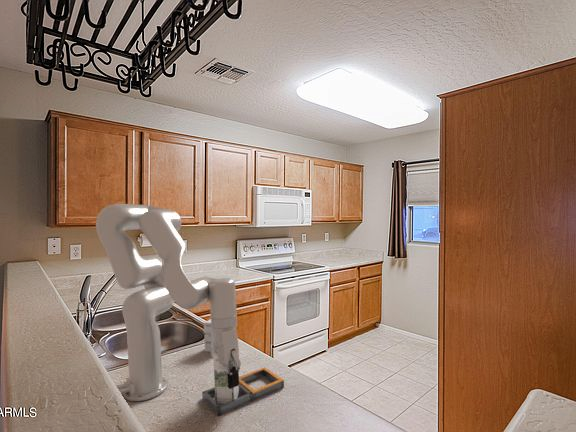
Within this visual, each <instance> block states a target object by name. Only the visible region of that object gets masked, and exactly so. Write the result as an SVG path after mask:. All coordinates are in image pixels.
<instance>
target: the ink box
mask: <svg viewBox="0 0 576 432" xmlns="http://www.w3.org/2000/svg"><path fill="white" fill-rule="evenodd" d="M203 337H204V352H209V353H211V318H209V319H208V320H206V321H204V322H203Z"/></svg>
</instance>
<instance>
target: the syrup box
mask: <svg viewBox="0 0 576 432" xmlns="http://www.w3.org/2000/svg"><path fill="white" fill-rule="evenodd" d="M212 359H213V375H214V376H213V377H214V378H213V379H214V380H213V381H214V387H215V396H214V398H215V399H214V400H215V402H216V403H217V404H218V405H222V404H225V403H227V402H229V401H232V400H234V399H237V398H239V394H240V392H239V385H238V386H236V387H234V388H231V389H229V388H228V376H227V374H229V372H228V369H227V365H226V366H222V365H221V364H220V363H219V356H218V354H216V353H214V355H213V358H212ZM232 361H233V359H232V357H231V358H230V361H229V362H232ZM230 367H231V369H232V367H234V364H231V365H230Z"/></svg>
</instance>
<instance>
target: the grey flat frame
mask: <svg viewBox="0 0 576 432" xmlns="http://www.w3.org/2000/svg"><path fill="white" fill-rule="evenodd" d="M263 377H265V378H266V379H268V381H270V383H268V384H265V385H263V386H261V387H257V388H256V389H253V387H251V386H250V385H248V383H251V382H253V381H256V380H258V379H261V378H263ZM284 380H285V379H283V378H282V377H280V376H278V374H276V373H274V372H273V371H271V370H270V369H268V368H267V367H262V368H260V369H256V370H254V371H252V372H249V373H246V374H244V375H239V394H240V395H242V396H240V397H239V396H238V398H237V399H234V400H232V401H229V402H227V403H225V404H217V403H216V401H215V399H214V398H213V397H215V386H214V387H211V388H208V389H206V390H204V391H202V392H201V395H202V400H203V401H204V402H205V403H206V404H207V406H208V407H209V408H210V409H211V410H212V412H214V414H215V415H216V416H217V417H219V416H222V415H224V414H226V413H228V411H229V412H231V411H233V410H236V409H238V408H240V407H242V406H244V404H245V405H247V404H249V403H251V402H254V401H256V400H258V399H260V398H263V397H265V396H267V395H269V394H272V393H273V392H274V393H275V392H276V391H278V390H279V391H280V390H281V389H284V388H285V381H284ZM262 396H263V397H262ZM257 398H258V399H257ZM255 399H256V400H255ZM253 400H254V401H253ZM250 401H251V402H250ZM248 402H249V403H248ZM246 403H247V404H246ZM237 407H238V408H237ZM232 409H233V410H232ZM230 410H231V411H230Z"/></svg>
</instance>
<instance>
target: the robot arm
mask: <svg viewBox="0 0 576 432" xmlns="http://www.w3.org/2000/svg"><path fill="white" fill-rule="evenodd" d="M95 221H96V223H95V227H96V228H95V230H96V233H97V236H98V238H99V240H100V242H101V244H102V246H103V248H104V249H105V252H106V255H107V257H108V260H109V263H110V265H111V268H112V272H113V274H114V276H115V279H116V281H117V284H118V285H119V287H120V288H121V289H123V290H124V289H125V290H131V289H132V290H133V289H136V288H139V287H144V288H143V289H141V290H137V291H135V292H133V293H131V294H130V295H128V296H127V297H126V298H125V299H124V301H123V303H122V306H121V307H122V308H121V313H122V316H123V320H124V324H125V329H126V343H127V345H126V346H127V359H128V360H127V361H128V377H126V381H124V382H123V383H121V384H117V385H115V386H117V388H118V389H119V391H120V392H121V394H123V397H124V398H125V399H126V400H127V401H129V402H141V401H146V400H151V399H153V398H156V397H158V396H159V395H161V394H163V393H164V392H165V391H166V390H167V389H168V385H169V384H168V380H167V378H165V377H163V367H162V365H163V363H162V346H161V345H162V344H161V343H162V342H161V331H160V327H159V325H158V323H157V321H156V319H155V318H156V317H157V316H159V315H161V314H163V313H165V312H167V311H168V310H170V309H171V308H172V306H173V305H174V303H175V304H176V305H178V307H180V309H183V310H192V309H193V310H194V309H195V308H196V307H197V308H198V307H199V306H201V305H203V304H205V303H207V302H209V308H210V319H211V352H210V356H211V358H212V359H213V355H214V353H216V354H218V356H219V363H220V364H221V365H222V366H226V365H227V369H228V372H229V374H227V376H228V388H229V389H231V388H234V387H236V386H238V385H239V377H240V375H239V372H240V369H241V364H242V362H241V360H240V349H239V338H238V331H237V326H238V315H237V295H236V293H237V290H236V283H235V280H234V279H232V278H229V277H228V278H225V277H224V278H213V277H211V276H210V277H209V276H202V277H198V278H195V279H192V280H190V279H189V278H188V277H187V275H186V273H185V271H184V269H183V266H182V257H183V255H184V253H186V251H187V244H186V243H185V241H184V240H183V238H182V236H181V235H180V233H179V232H180V230H181V228H182V223H183V222H182V219H181V217H180V214H178V213H177V212H176V211H174V210H173V209H168V208H163V207H157V206H153V205H146V204H135V203H134V204H132V203H115V204H109V205H107V206H105V207H103V208H102V209H101V210H100V211H99V213H98V215H97V217H96V220H95ZM131 230H132V231H133V230H135V231H136V230H141V232H142V233H143V235H144V237H145V238H146V240H147V241H148V242H149V244H150V246H151V247H152V249H153V250H154V251H155V253H156V255H157V256H158V257H159V259H160V260H159V259H158V258H157V257H155V256H153V255H145V256H141V255H140V252H139V250H138V249H137V246H136V243H135V241H134V240H133V239H132V238H131V236H130V235H128V234H127V233H126V231H131ZM231 357H232V359H233V361H232V362H229V361H230V358H231ZM231 364H234V367H232V369H231V367H230V365H231ZM121 394H120V395H121Z"/></svg>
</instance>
